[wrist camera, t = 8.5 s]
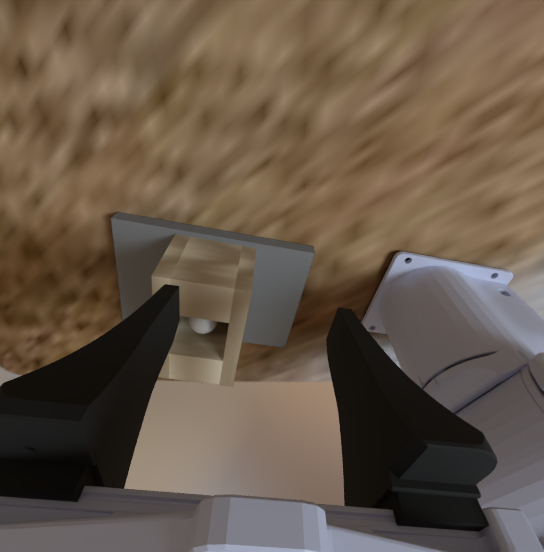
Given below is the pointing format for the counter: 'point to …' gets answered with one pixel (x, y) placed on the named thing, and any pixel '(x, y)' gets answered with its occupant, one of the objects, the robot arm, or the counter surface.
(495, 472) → the robot arm
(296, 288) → the pin board
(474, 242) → the counter surface
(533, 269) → the counter surface
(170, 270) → the hollow block
